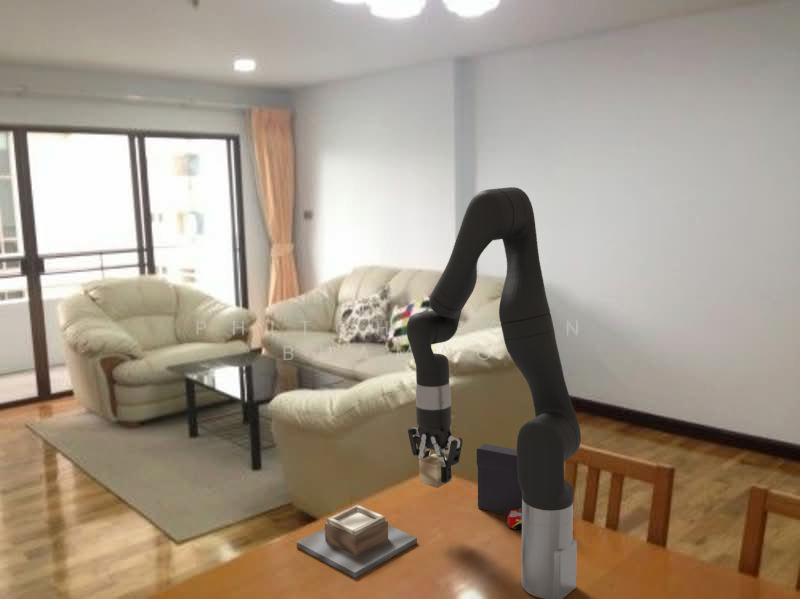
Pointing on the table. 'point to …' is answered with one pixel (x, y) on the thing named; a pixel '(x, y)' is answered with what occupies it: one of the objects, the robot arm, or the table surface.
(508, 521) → the race car
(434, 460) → the maple cube
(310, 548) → the plate
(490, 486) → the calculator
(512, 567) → the table surface
